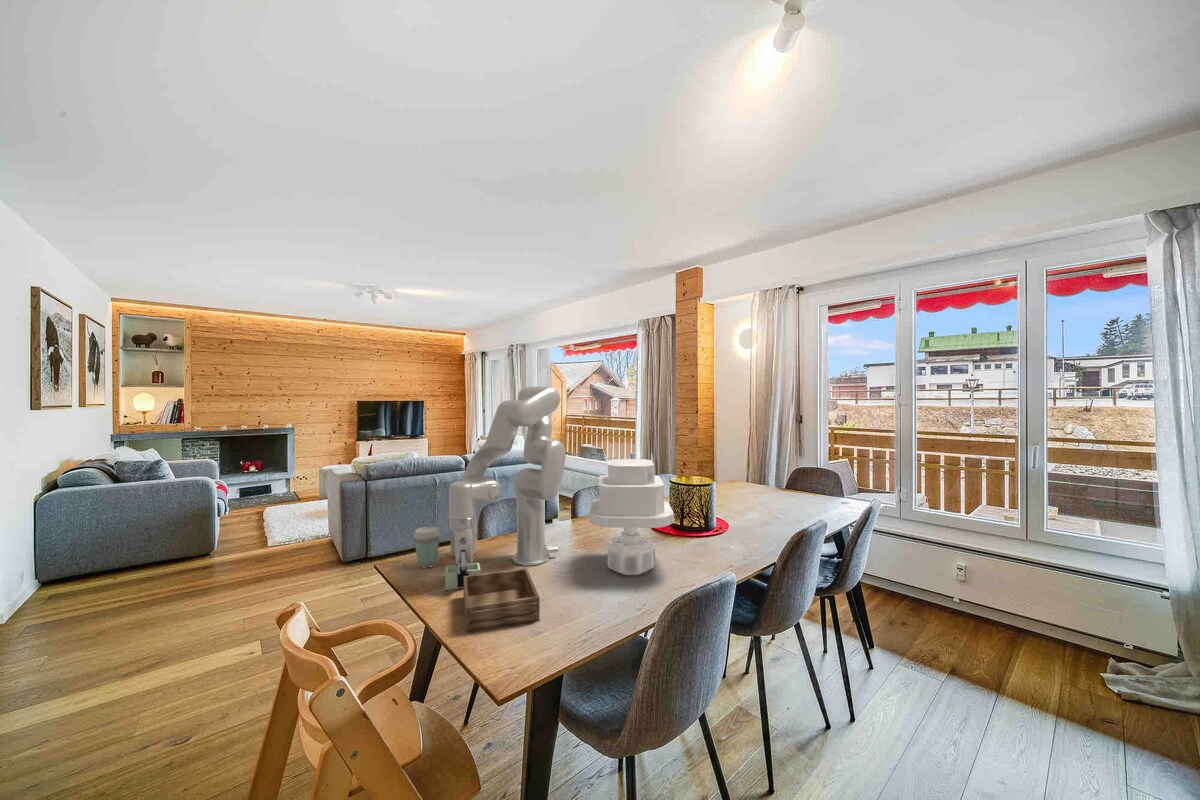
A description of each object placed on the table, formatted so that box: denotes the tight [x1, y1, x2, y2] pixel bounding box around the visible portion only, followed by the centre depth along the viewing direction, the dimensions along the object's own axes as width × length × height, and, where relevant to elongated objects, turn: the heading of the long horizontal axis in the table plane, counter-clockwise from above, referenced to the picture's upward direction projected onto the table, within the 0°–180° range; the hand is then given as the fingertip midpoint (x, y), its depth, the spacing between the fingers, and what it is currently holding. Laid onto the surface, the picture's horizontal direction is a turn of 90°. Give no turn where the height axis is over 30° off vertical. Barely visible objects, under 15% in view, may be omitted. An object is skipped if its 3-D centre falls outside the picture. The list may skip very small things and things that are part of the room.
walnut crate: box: [463, 568, 541, 633], centre depth 123 cm, size 18×21×6 cm
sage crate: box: [444, 562, 482, 592], centre depth 139 cm, size 10×6×5 cm, turn 108°
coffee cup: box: [413, 526, 441, 568], centre depth 154 cm, size 9×8×12 cm
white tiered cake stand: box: [588, 458, 675, 576], centre depth 151 cm, size 27×27×35 cm
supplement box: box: [449, 516, 478, 557], centre depth 164 cm, size 8×5×13 cm, turn 84°
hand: (462, 581), depth 139 cm, fingers closed on sage crate, 6 cm apart
